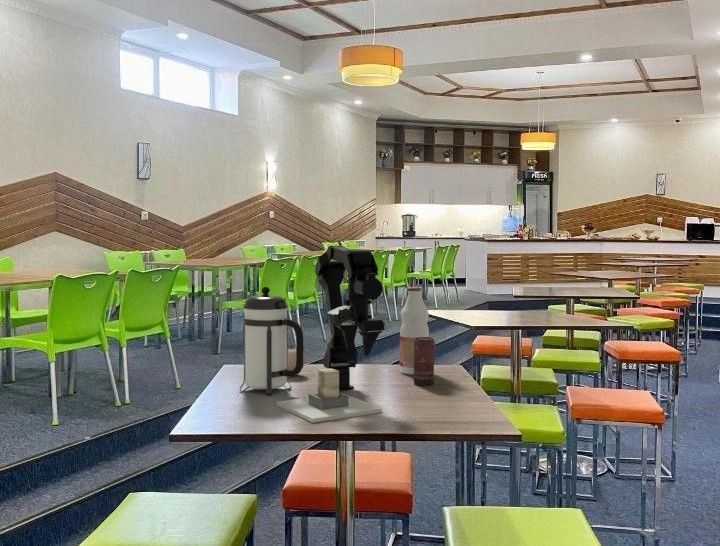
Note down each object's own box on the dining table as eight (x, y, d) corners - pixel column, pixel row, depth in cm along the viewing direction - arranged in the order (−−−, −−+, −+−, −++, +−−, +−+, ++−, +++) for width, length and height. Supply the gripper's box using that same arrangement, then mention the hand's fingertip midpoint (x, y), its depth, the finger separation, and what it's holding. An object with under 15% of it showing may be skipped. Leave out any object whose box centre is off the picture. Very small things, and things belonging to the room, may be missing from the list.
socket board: (276, 405, 186) (276, 401, 186) (342, 396, 197) (342, 393, 197) (312, 422, 169) (312, 418, 169) (381, 412, 180) (382, 408, 180)
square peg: (317, 404, 184) (317, 369, 183) (331, 402, 186) (331, 368, 185) (325, 407, 180) (325, 372, 180) (338, 405, 182) (339, 370, 182)
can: (433, 386, 211) (434, 339, 210) (412, 385, 212) (412, 339, 211) (435, 382, 217) (436, 336, 216) (414, 381, 218) (415, 336, 217)
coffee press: (240, 398, 194) (240, 289, 193) (238, 385, 210) (238, 284, 208) (303, 395, 198) (303, 288, 196) (296, 383, 213) (297, 284, 212)
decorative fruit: (284, 379, 219) (284, 347, 219) (273, 375, 226) (273, 344, 226) (311, 376, 224) (311, 345, 224) (299, 372, 231) (299, 341, 231)
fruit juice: (410, 376, 226) (411, 288, 224) (394, 371, 234) (394, 286, 232) (434, 373, 231) (435, 287, 229) (417, 368, 239) (418, 285, 237)
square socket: (308, 403, 184) (308, 394, 184) (333, 400, 188) (333, 390, 188) (322, 409, 178) (322, 400, 178) (348, 406, 182) (348, 396, 182)
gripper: (316, 293, 196) (316, 349, 197) (349, 300, 180) (348, 361, 181) (351, 292, 202) (350, 346, 203) (386, 298, 186) (385, 357, 187)
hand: (357, 352), depth 193 cm, fingers open, 9 cm apart
